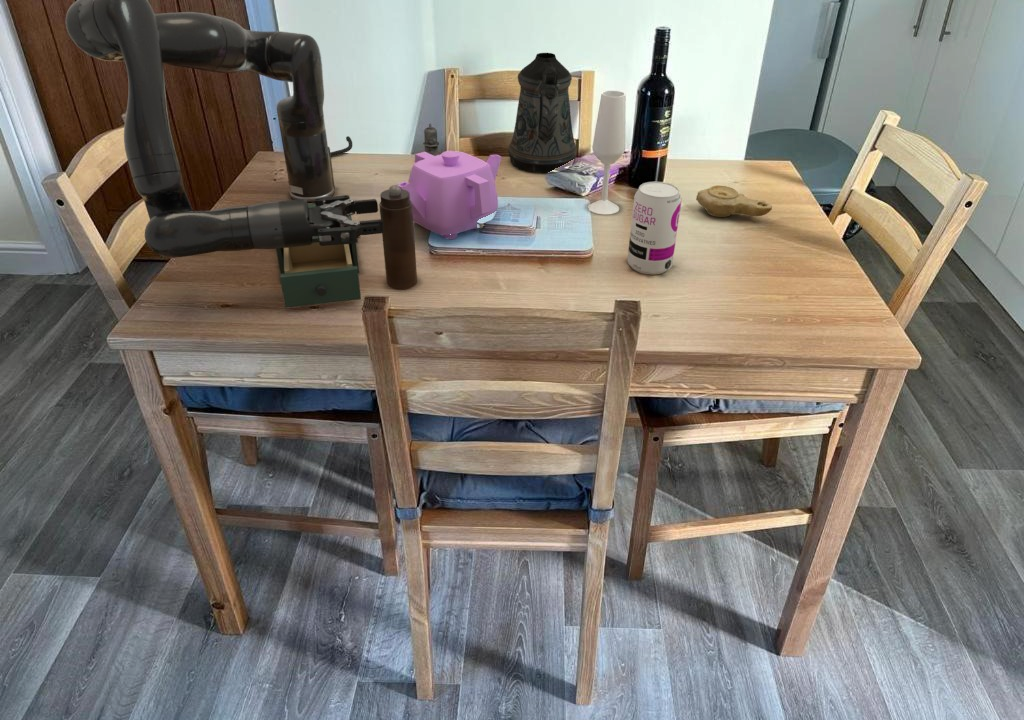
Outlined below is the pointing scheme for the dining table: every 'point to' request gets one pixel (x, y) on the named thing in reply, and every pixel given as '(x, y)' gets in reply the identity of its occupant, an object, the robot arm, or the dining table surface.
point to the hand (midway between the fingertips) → (380, 215)
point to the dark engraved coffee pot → (543, 117)
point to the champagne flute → (609, 142)
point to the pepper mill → (398, 238)
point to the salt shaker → (431, 141)
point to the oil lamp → (730, 202)
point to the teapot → (452, 191)
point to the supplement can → (654, 227)
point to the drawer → (319, 275)
